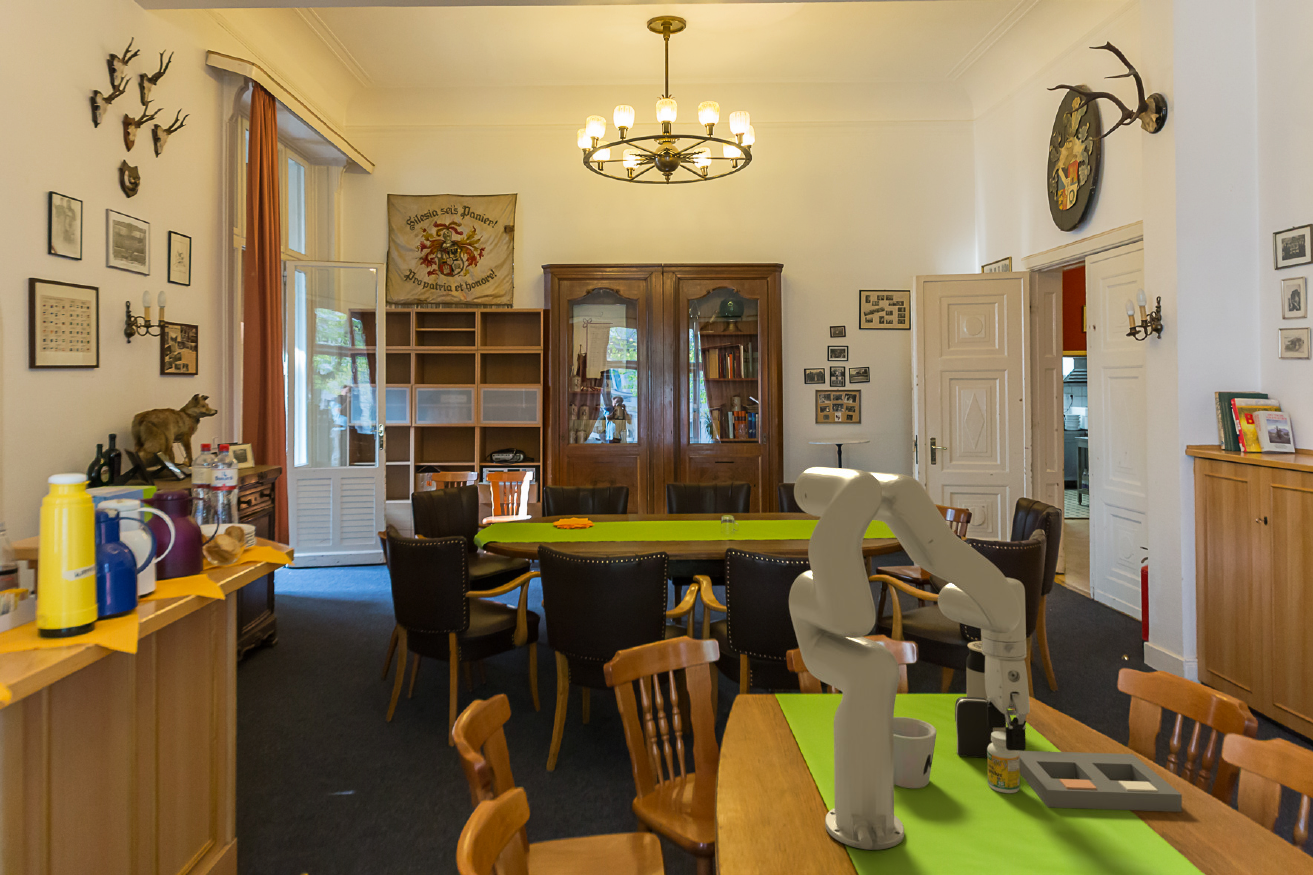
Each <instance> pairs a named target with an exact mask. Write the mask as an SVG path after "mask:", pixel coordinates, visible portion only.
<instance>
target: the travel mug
mask: <svg viewBox="0 0 1313 875" xmlns="http://www.w3.org/2000/svg"><path fill="white" fill-rule="evenodd" d="M967 647H968V650H969V654H968V656H967V657H966V660H965V661H966V697H979V698H985V699H986V700H987V695H986V690H985V655H983V654H982V648H981V640H980V641H971V642H968V643H967ZM995 731H1002V732H1006V729H1005V728H993V732H995Z"/></svg>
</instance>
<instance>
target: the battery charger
mask: <svg viewBox="0 0 1313 875" xmlns="http://www.w3.org/2000/svg"><path fill="white" fill-rule="evenodd" d="M954 704H955V705H954V721H955V729H956V753H957V755H958V756H960V757H970V758H986V759H988V756H987V748H988V746H989V744H991V743H992V741H991V733H992V732H993V728H990V727H989V726H988V723H987V706H990V705H987V700H986V699H985V698H979V697H967V696H959V697H958V698H956V701H955V702H954Z"/></svg>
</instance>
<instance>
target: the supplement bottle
mask: <svg viewBox="0 0 1313 875" xmlns="http://www.w3.org/2000/svg"><path fill="white" fill-rule="evenodd" d="M991 741H992V743H991V744H989V746H988V748H987V756H988V758H987V784H988V786H989V788H990V789H992V790H994V791H995V792H998V793H999V792H1000V793H1003V794H1016V793H1017V792H1018V791H1020V786H1021V784H1020V782H1021V781H1020V779H1021V778H1020V776H1021V774H1020V767H1019V751H1020V750H1007V748H1006V731H1004V732H1002V731H995V732H992V733H991Z"/></svg>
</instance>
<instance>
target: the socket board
mask: <svg viewBox="0 0 1313 875" xmlns="http://www.w3.org/2000/svg"><path fill="white" fill-rule="evenodd" d="M1018 751H1019V767H1020V776H1021V777H1022V778H1023V779H1024V780H1025V781H1026V783H1027V784H1028V785H1029V787H1031V789H1032V790H1033V791H1034V792H1035V794H1036V795H1037V796H1038V797H1039V799H1040V800H1041V801H1042V802H1043V804H1045V806H1046V807H1047V808H1060V809H1061V808H1063V809H1064V808H1065V809H1067V808H1068V809H1088V810H1089V809H1090V810H1091V809H1093V810H1115V811H1117V810H1118V811H1119V810H1120V811H1121V810H1123V811H1143V812H1145V811H1150V812H1175V813H1177V812H1179V813H1181V812H1183V807H1182V806H1183V803H1182V802H1183V799H1182V798H1183V797H1182V796H1183V794H1182V793H1180V791H1178V790H1177V789H1176V788H1174V787H1173V786H1172V785H1171V784H1170V783H1169V782H1168V781H1166V780H1165V779H1164V778H1162V777H1161V776H1160V775H1159V774H1158V773H1156V772H1155V771H1154V770H1153V769H1151V768H1150V767H1149V766H1147V765H1146V764H1145V763H1144V762H1143V761H1142V760H1140V759H1139V758H1138V757H1137V756H1135V755H1134V754H1133V753H1112V752H1110V753H1108V752H1107V753H1106V752H1105V753H1103V752H1102V753H1101V752H1076V751H1075V752H1074V751H1073V752H1072V751H1071V752H1070V751H1043V750H1042V751H1039V750H1038V751H1035V750H1033V751H1032V750H1024V751H1020V750H1018Z"/></svg>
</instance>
